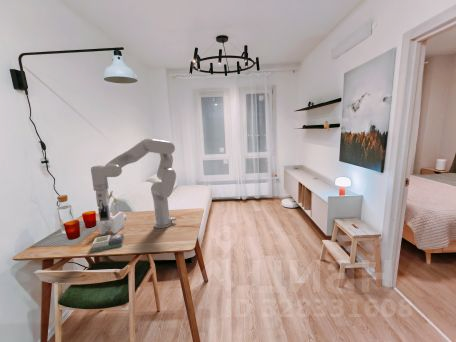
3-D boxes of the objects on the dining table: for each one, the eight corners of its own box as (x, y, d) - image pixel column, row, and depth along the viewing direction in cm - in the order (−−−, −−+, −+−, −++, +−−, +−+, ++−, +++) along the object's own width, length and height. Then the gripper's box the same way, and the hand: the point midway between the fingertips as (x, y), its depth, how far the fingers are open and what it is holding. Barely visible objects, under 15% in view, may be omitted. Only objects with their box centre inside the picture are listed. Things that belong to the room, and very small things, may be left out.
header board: (124, 237, 140) (123, 231, 139) (121, 246, 129) (120, 240, 128) (96, 242, 135) (95, 236, 135) (91, 252, 124) (90, 245, 123)
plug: (110, 217, 132) (108, 205, 131) (108, 220, 128) (107, 207, 127) (100, 218, 131) (99, 206, 129) (99, 221, 126) (97, 208, 125)
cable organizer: (114, 235, 143) (111, 219, 141) (98, 236, 143) (95, 220, 141) (125, 225, 158) (123, 210, 155) (111, 226, 158) (108, 211, 156)
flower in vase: (114, 217, 173) (109, 187, 168) (128, 216, 174) (124, 186, 169) (106, 224, 161) (101, 192, 156) (122, 223, 162) (117, 191, 157)
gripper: (105, 189, 119) (109, 220, 122) (110, 183, 135) (114, 210, 138) (89, 191, 117) (94, 222, 120) (97, 184, 132) (100, 212, 136)
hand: (104, 215), depth 129 cm, fingers closed on plug, 4 cm apart
